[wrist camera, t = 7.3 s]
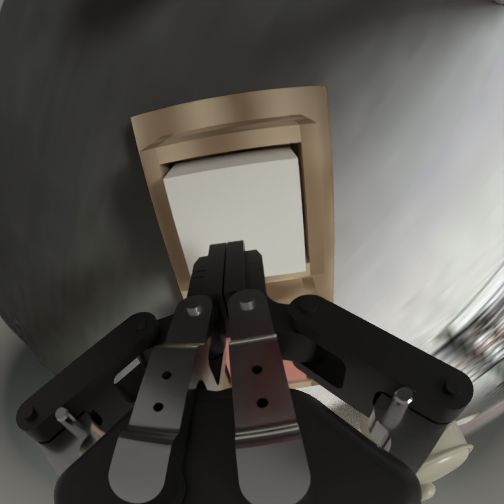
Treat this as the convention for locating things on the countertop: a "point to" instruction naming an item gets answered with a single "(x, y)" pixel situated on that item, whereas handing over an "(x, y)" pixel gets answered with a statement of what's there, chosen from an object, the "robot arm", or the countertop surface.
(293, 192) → the white key
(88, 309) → the countertop surface
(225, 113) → the frame
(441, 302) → the countertop surface
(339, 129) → the countertop surface
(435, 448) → the canister
